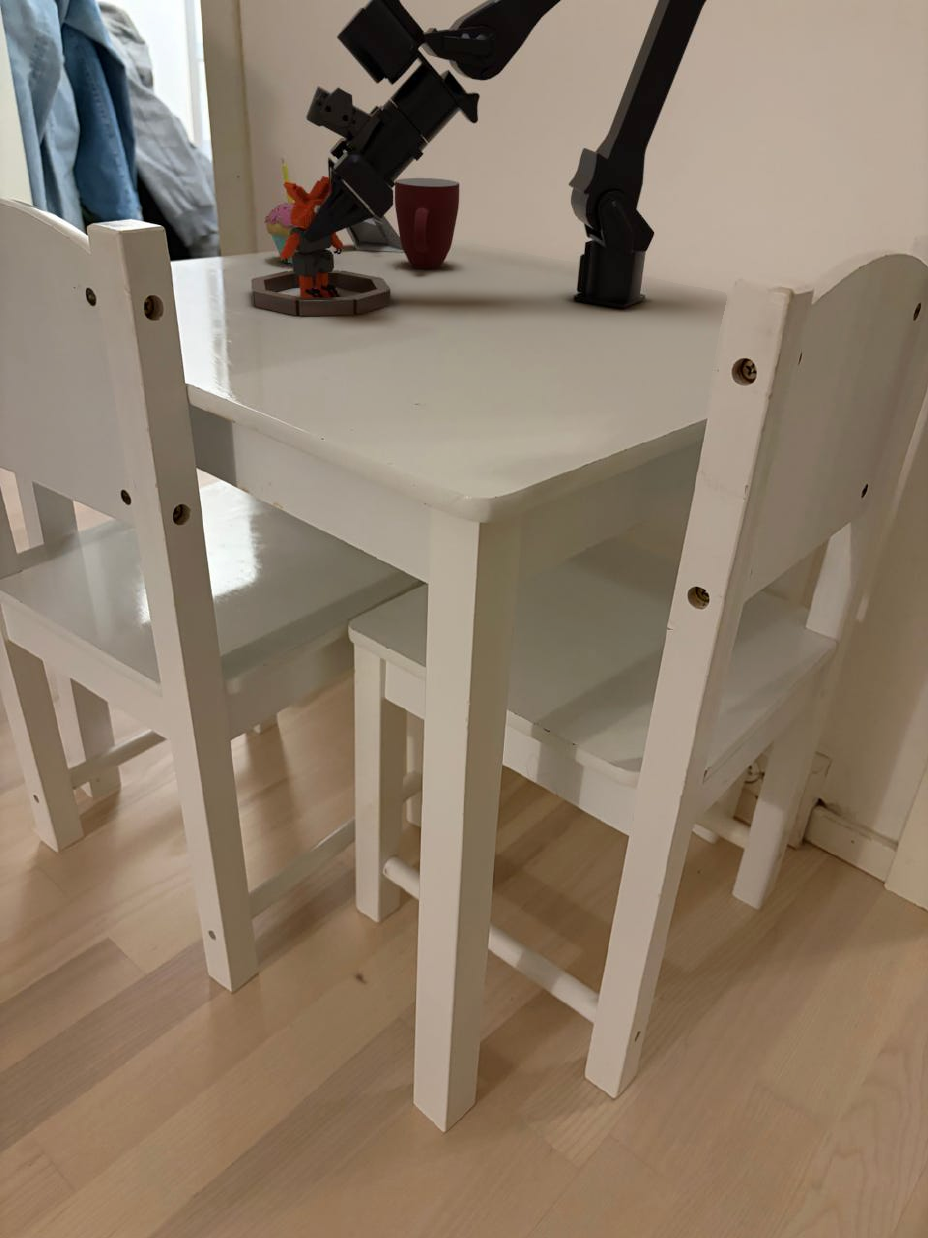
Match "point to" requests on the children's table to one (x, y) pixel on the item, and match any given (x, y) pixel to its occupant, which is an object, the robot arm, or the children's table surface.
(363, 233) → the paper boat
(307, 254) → the toy animal
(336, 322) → the children's table surface
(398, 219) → the mug
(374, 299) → the hoop
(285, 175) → the cupcake
